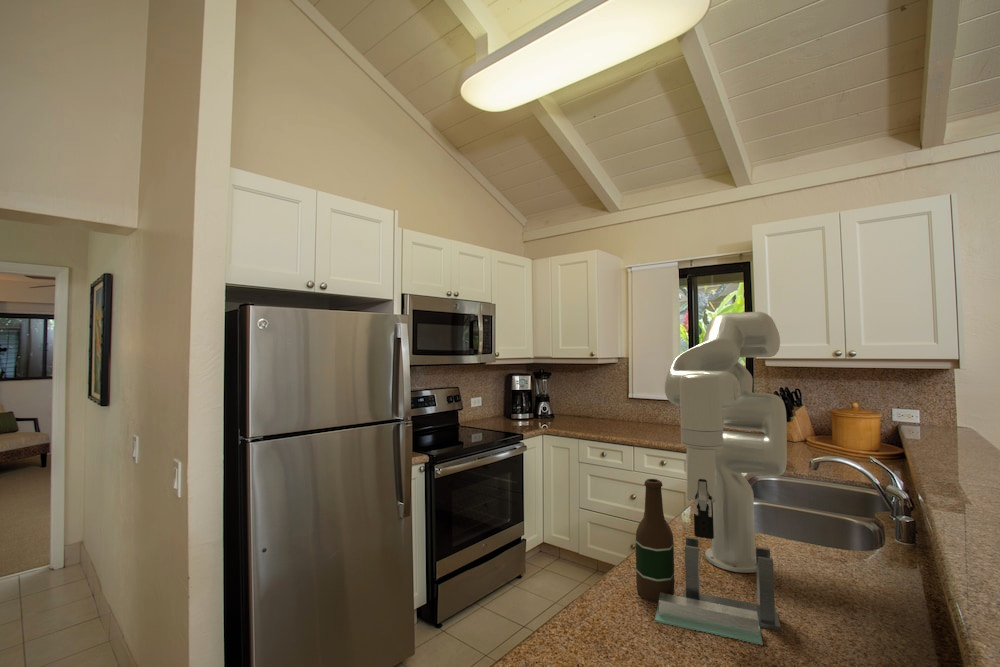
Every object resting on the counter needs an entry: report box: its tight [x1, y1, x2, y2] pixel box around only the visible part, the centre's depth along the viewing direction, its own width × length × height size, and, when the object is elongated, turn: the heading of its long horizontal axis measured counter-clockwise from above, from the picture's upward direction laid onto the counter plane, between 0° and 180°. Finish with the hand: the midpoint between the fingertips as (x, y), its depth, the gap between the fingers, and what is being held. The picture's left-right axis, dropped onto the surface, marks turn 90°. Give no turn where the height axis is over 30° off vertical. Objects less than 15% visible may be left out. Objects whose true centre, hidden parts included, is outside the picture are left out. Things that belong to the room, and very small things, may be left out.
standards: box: [682, 536, 782, 632], centre depth 91 cm, size 7×17×12 cm, turn 66°
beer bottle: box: [635, 478, 675, 604], centre depth 98 cm, size 8×8×24 cm
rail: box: [658, 593, 759, 637], centre depth 87 cm, size 3×17×3 cm, turn 66°
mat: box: [654, 603, 763, 646], centre depth 87 cm, size 6×18×1 cm, turn 66°
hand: (704, 527), depth 88 cm, fingers open, 9 cm apart
